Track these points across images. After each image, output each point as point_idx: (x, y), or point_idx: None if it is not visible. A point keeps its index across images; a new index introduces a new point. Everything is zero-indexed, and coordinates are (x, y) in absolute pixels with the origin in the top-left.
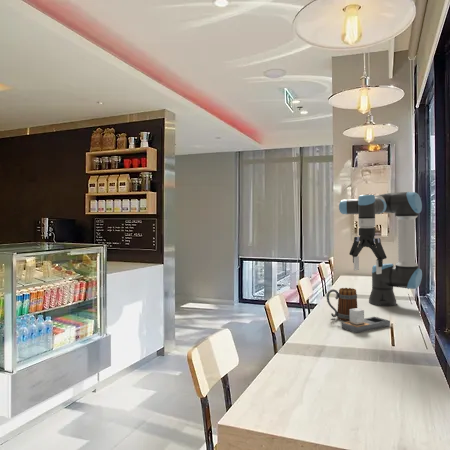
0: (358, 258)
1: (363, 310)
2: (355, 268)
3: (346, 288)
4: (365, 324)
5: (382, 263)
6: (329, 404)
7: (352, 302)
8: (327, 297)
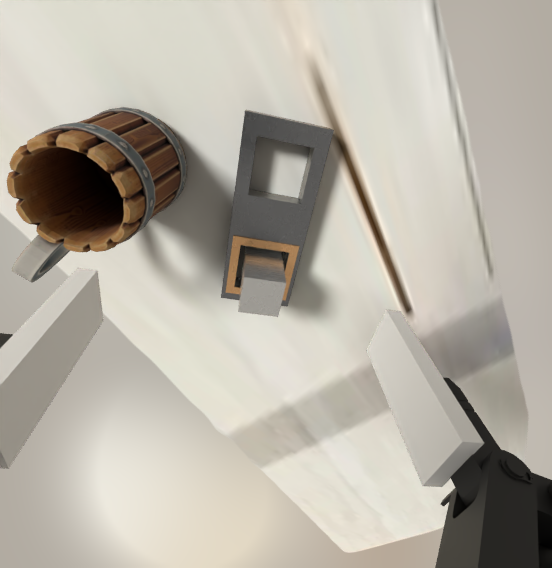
0: (6, 384)
1: (285, 285)
2: (94, 328)
3: (23, 162)
4: (291, 261)
5: (474, 414)
6: (407, 504)
7: (158, 203)
8: (47, 270)
